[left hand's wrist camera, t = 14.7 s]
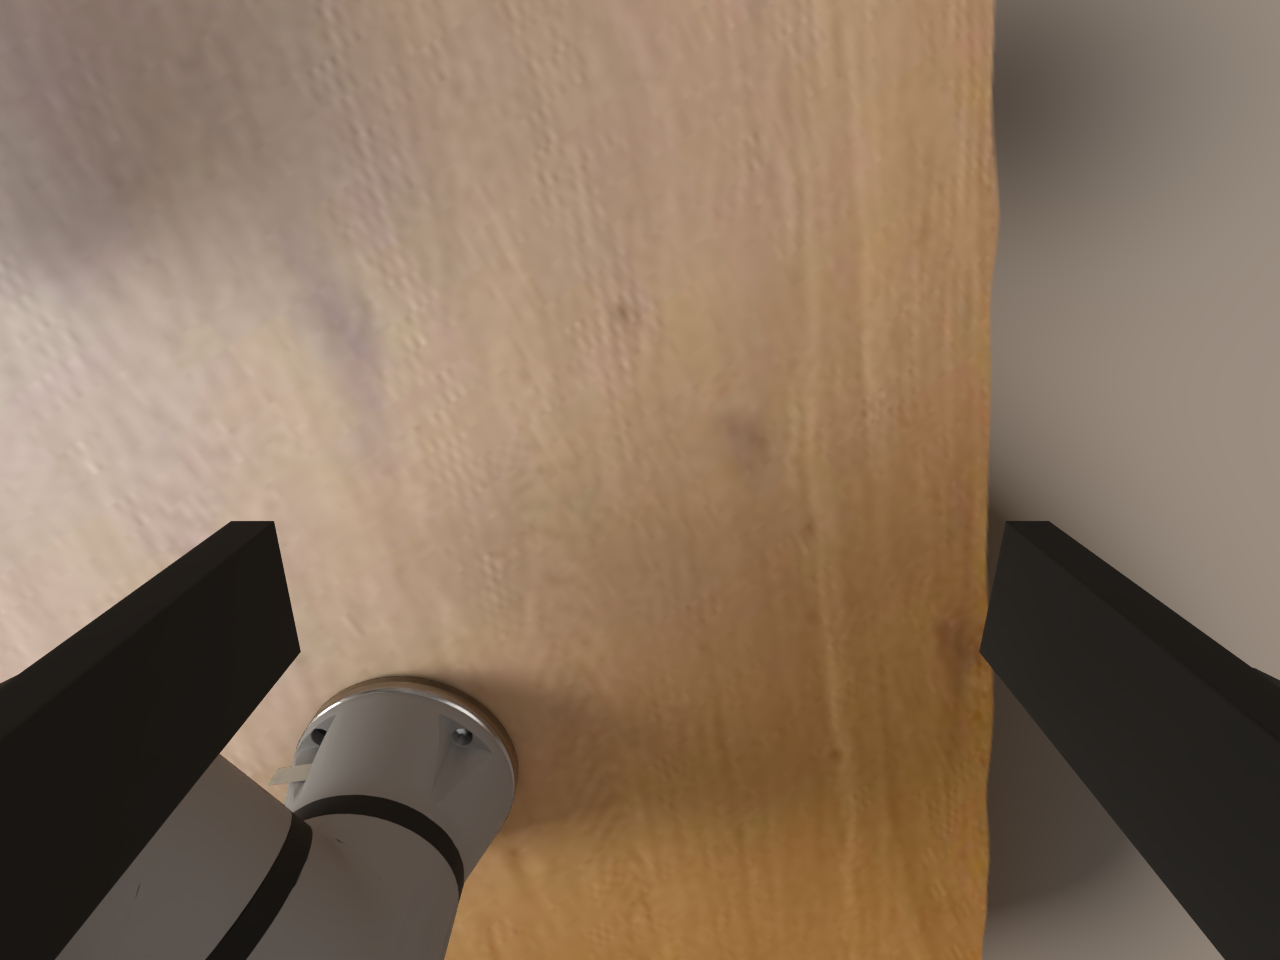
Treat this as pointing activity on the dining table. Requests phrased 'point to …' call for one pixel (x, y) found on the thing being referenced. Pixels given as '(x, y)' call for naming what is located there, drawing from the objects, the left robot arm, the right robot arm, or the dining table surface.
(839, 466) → the dining table surface
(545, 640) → the dining table surface
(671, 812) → the dining table surface
